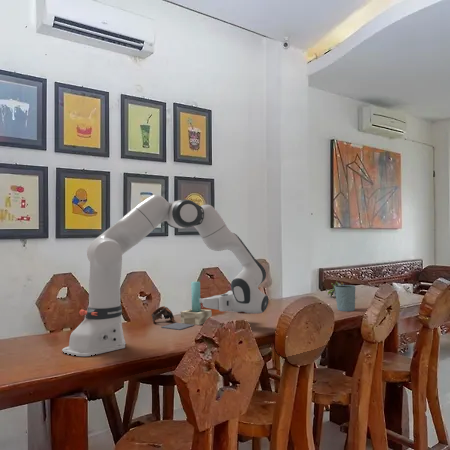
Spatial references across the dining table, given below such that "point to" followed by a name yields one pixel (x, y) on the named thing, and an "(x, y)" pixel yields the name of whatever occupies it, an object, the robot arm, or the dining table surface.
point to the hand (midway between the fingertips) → (206, 298)
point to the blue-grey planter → (345, 297)
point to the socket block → (195, 316)
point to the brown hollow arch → (165, 312)
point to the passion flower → (334, 288)
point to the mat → (177, 326)
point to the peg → (195, 296)
